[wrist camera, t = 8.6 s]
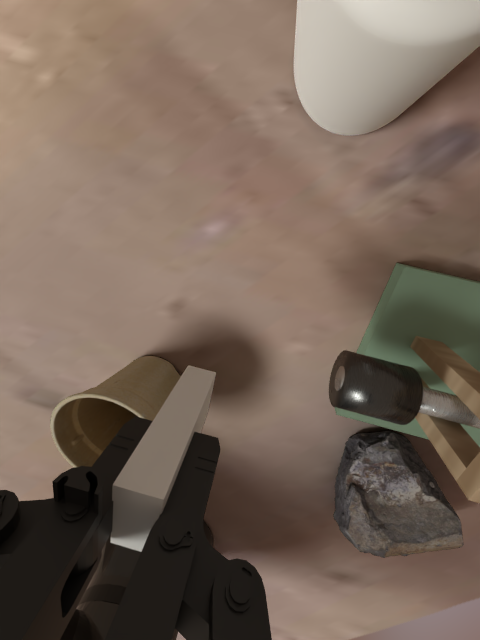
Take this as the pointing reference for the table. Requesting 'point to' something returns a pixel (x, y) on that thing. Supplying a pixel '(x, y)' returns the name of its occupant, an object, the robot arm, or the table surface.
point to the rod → (390, 392)
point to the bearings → (447, 436)
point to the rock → (391, 499)
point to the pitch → (423, 329)
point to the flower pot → (110, 408)
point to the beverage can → (376, 56)
